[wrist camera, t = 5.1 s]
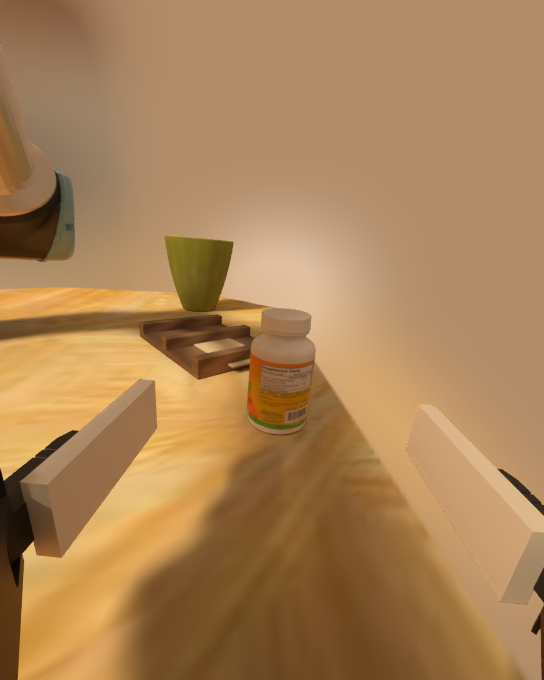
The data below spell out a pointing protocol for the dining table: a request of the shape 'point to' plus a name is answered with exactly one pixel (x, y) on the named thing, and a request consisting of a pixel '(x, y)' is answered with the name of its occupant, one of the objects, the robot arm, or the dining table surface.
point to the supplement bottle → (281, 372)
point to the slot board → (200, 343)
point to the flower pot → (198, 270)
